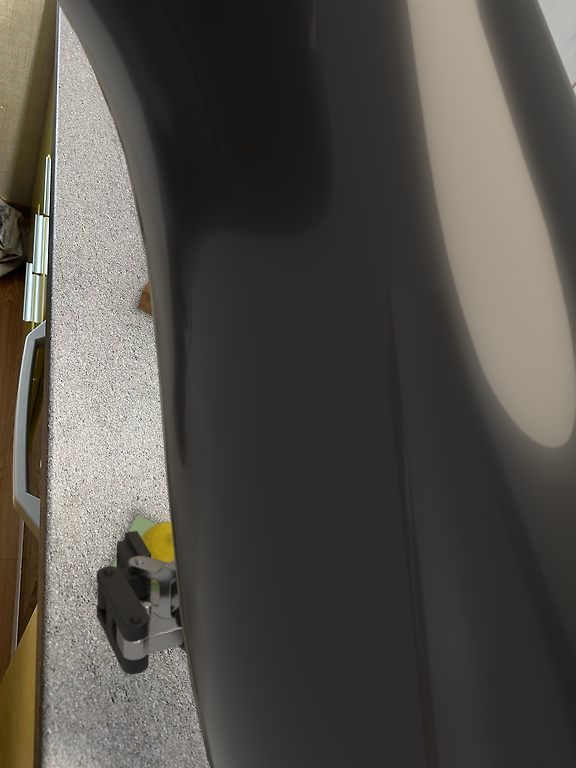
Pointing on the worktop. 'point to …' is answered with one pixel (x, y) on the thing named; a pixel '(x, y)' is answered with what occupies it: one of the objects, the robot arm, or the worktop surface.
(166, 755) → the worktop surface
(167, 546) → the fruit
